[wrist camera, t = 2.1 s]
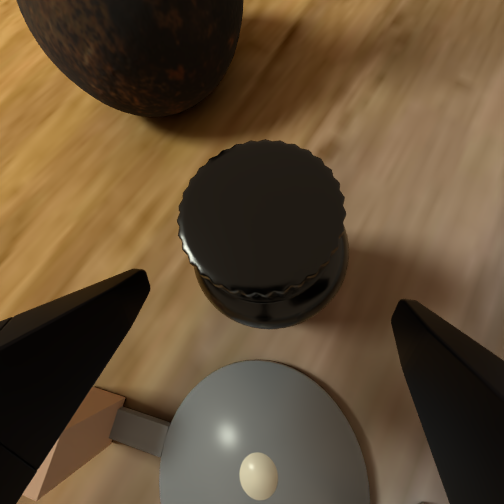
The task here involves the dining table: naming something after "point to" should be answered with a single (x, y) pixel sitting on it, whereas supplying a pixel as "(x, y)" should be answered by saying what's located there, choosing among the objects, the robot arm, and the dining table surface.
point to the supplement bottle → (265, 233)
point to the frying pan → (227, 441)
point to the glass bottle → (139, 48)
